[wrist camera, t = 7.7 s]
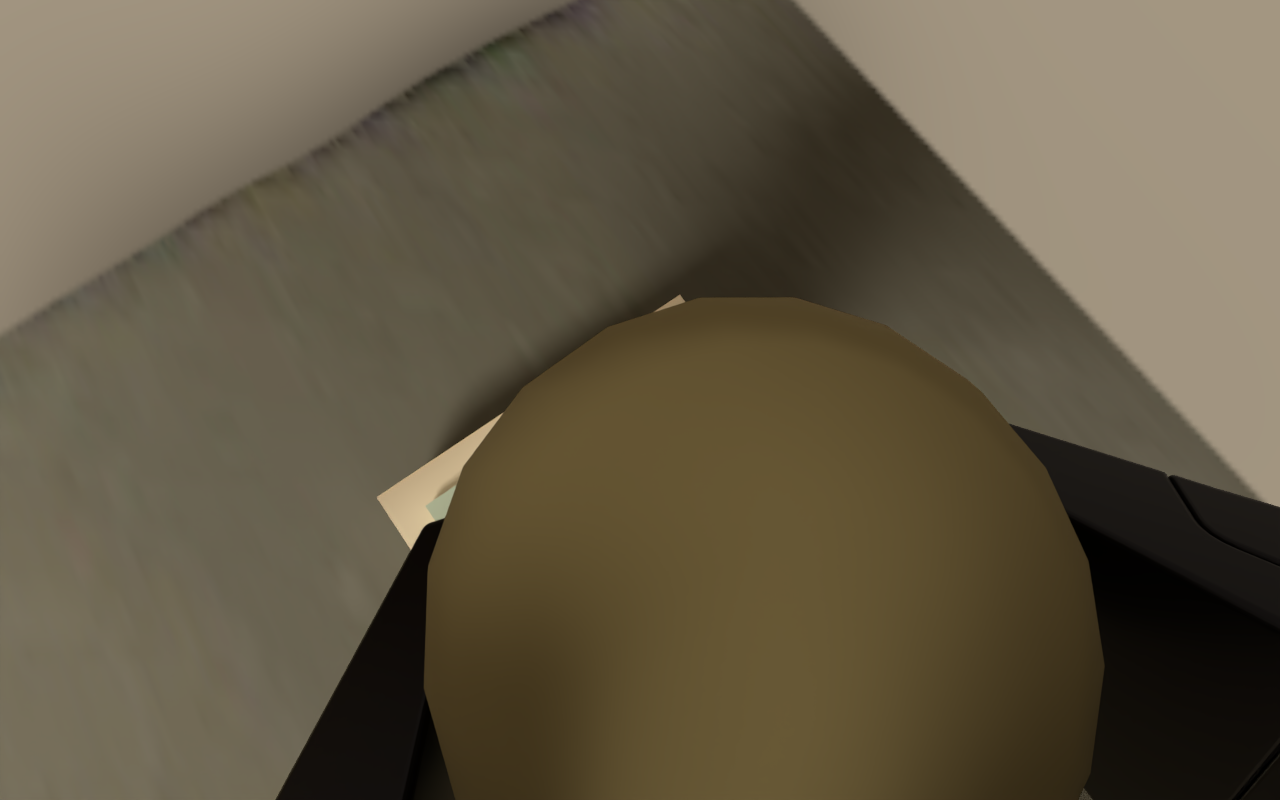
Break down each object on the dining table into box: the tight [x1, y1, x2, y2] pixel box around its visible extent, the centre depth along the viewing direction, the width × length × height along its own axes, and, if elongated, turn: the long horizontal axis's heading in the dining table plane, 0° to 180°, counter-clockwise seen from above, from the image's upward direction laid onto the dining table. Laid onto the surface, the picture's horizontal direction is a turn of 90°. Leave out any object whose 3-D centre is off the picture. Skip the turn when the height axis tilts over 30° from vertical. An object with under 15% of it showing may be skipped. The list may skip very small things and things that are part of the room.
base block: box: [377, 295, 685, 549], centre depth 18 cm, size 10×10×4 cm
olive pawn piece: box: [424, 297, 1105, 800], centre depth 9 cm, size 6×6×11 cm
